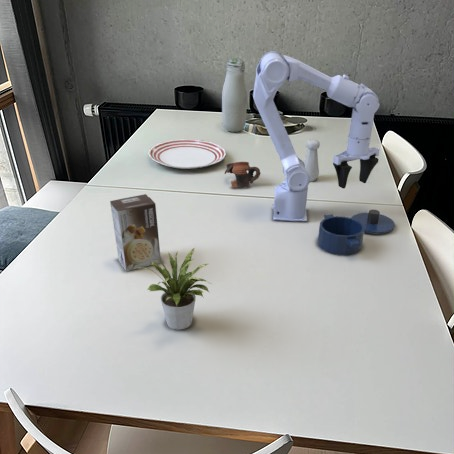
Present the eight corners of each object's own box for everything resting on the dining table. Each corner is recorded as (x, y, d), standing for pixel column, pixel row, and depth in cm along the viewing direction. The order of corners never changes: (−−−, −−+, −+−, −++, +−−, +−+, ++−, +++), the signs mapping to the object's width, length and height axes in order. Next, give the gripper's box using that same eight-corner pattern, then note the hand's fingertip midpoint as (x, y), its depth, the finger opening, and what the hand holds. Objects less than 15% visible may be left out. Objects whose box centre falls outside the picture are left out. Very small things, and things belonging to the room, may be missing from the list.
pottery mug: (222, 189, 166) (219, 163, 165) (232, 192, 175) (229, 167, 174) (258, 184, 162) (255, 157, 161) (266, 187, 171) (264, 161, 170)
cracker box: (152, 251, 132) (147, 192, 123) (161, 263, 127) (157, 203, 118) (117, 259, 128) (109, 200, 119) (125, 272, 124) (118, 210, 115)
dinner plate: (239, 156, 190) (240, 147, 188) (196, 180, 171) (196, 171, 169) (179, 142, 202) (179, 134, 200) (133, 164, 183) (132, 154, 181)
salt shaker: (317, 183, 170) (321, 144, 162) (300, 181, 171) (303, 142, 163) (318, 176, 174) (322, 138, 167) (301, 175, 175) (305, 137, 168)
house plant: (150, 354, 99) (144, 283, 90) (132, 314, 110) (124, 247, 101) (219, 336, 104) (219, 266, 95) (195, 299, 115) (193, 233, 105)
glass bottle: (220, 134, 212) (220, 60, 196) (224, 126, 220) (225, 55, 204) (244, 135, 210) (246, 61, 195) (247, 128, 219) (249, 56, 203)
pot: (332, 263, 128) (335, 243, 125) (307, 232, 141) (309, 214, 138) (373, 257, 130) (377, 238, 127) (345, 227, 144) (347, 210, 141)
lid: (362, 237, 139) (364, 223, 137) (342, 218, 148) (344, 204, 146) (402, 232, 142) (405, 218, 139) (380, 213, 151) (383, 200, 149)
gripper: (348, 145, 132) (341, 194, 139) (390, 136, 138) (381, 184, 145) (330, 137, 137) (325, 185, 144) (372, 129, 143) (364, 176, 150)
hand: (352, 184), depth 145 cm, fingers open, 7 cm apart
